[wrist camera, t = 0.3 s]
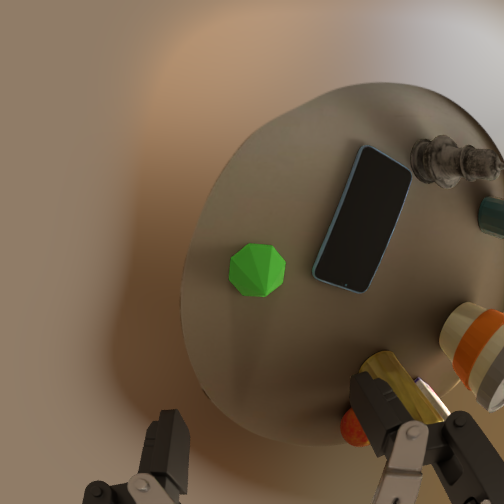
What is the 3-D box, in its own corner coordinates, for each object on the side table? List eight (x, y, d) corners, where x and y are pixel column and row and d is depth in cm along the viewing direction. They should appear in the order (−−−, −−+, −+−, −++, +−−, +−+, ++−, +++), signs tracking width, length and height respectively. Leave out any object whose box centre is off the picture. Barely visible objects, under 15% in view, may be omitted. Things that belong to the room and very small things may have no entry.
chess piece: (405, 179, 27) (485, 190, 16) (411, 130, 26) (489, 121, 14) (440, 191, 28) (514, 206, 16) (445, 145, 26) (520, 147, 15)
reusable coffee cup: (487, 317, 35) (541, 357, 21) (443, 370, 37) (490, 422, 23) (472, 275, 32) (543, 316, 18) (420, 338, 34) (482, 400, 19)
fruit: (328, 425, 37) (344, 463, 29) (342, 396, 35) (362, 435, 27) (366, 420, 38) (384, 453, 30) (381, 391, 36) (404, 425, 28)
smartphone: (415, 172, 26) (365, 296, 29) (411, 172, 27) (362, 293, 30) (363, 140, 25) (309, 278, 28) (359, 141, 26) (307, 275, 29)
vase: (376, 344, 33) (434, 416, 19) (402, 356, 34) (456, 419, 20) (349, 378, 34) (393, 455, 20) (376, 387, 35) (420, 454, 22)
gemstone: (278, 234, 28) (292, 250, 22) (292, 288, 29) (308, 315, 24) (219, 252, 27) (218, 273, 22) (237, 305, 29) (241, 336, 23)
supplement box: (392, 401, 37) (423, 448, 26) (418, 376, 36) (454, 420, 25) (405, 408, 38) (435, 451, 27) (429, 385, 38) (463, 426, 27)
